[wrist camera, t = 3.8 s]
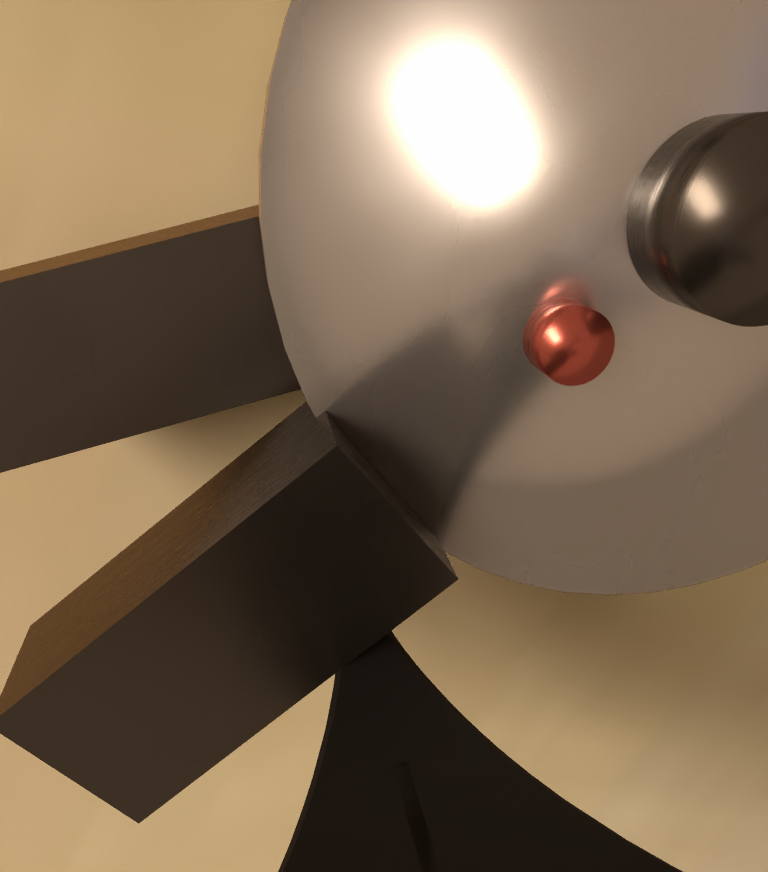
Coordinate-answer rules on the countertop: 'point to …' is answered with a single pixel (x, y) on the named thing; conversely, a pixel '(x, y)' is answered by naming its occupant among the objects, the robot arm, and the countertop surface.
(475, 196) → the lid
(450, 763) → the robot arm
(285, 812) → the countertop surface
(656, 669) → the countertop surface
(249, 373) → the pot
